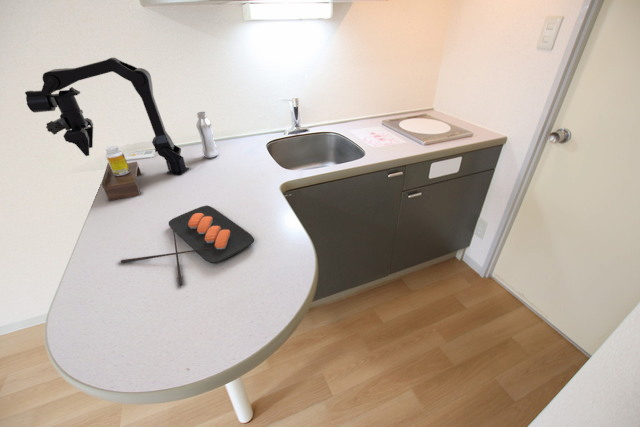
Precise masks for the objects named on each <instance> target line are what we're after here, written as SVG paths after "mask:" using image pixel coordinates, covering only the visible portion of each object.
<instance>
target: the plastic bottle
mask: <svg viewBox="0 0 640 427" xmlns="http://www.w3.org/2000/svg"><path fill="white" fill-rule="evenodd" d="M196 116H197V121H196V129H197V131H198V132H197V133H198V134H199V138H200V140H201V146H202V153H203V156H204V157H205V158H215V157H217V156H218V154H219V150H218V147H217V145H216V142H215V139H214V133H213V124H212V122H211V121H210V120H209V119H208V118H207V117H208V115H207V112H206V111H198V112H196Z"/></svg>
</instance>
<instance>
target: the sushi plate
mask: <svg viewBox="0 0 640 427" xmlns="http://www.w3.org/2000/svg"><path fill="white" fill-rule="evenodd" d="M168 226H169V227H170V229H171V230H172V232H173V240H174V248H175V252H171V253H163V254H156V255H155V254H154V255H148V256H147V255H146V256H140V257H134V258H127V259H126V258H125V259H121V260H120V263H121V264H124V263H130V262H131V263H132V262H137V261H145V260H149V259H155V258H161V257H169V256H174V255H175V259H176V268H177V278H178V284H179V286H183V280H182V272H181V266H180V260H179V255H180V254H187V253H193V252H196V254H197V255H199V256H200V257H201V258H202V259H203V260H204V261H206V262H208V263H210V264H218V263H220V262H223V261H225V260H227V259H229V258H230V257H232V256H234V255H236V254H238V253H239V252H242V251H243V250H245V249H247V248H249V247H250V246H252V245H253V243H254V242H255V237H254V236H253V235H252V234H251V233H249V232H248V231H247V230H245V229H244V228H242V226H240V225H239V224H237V223H235V222H234V221H233V220H231V218H229V217H227V216H226V215H224V214H223V213H222V212H220V211H219V210H217V208H215V207H212V206H211V205H203V206H199V207H196V208H194V209H192V210H189V211H187V212H185V213H182V214H180V215H178V216H175V217H173V218H172V219H170V220H169V221H168ZM176 235H178V236H179V237H180V238H181V239H182V240H183V241H184V243H186V244H187V245H188V246H189V247H190V248H191V250H185V251H178V246H177V238H176Z"/></svg>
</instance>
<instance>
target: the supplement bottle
mask: <svg viewBox="0 0 640 427" xmlns="http://www.w3.org/2000/svg"><path fill="white" fill-rule="evenodd" d="M105 151H106V154H105V158H106V160H107V164H108V163H109V165H110V167H111V169H112V172H113V174H114V175H115V176H123V175H126V174H128V173H129V172H130V169H129V167H128V164H127V163H128V162H127V160H126V157H125V154H124V152H123V151H122V150H120V148H119V146H118V145H111V146H107V147H106V148H105Z"/></svg>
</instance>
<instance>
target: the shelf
mask: <svg viewBox="0 0 640 427" xmlns="http://www.w3.org/2000/svg"><path fill="white" fill-rule="evenodd" d="M127 164H128V167H129V169H130V172H129V173H128V174H126V175H123V176H115V175H114V174H113V172H112V169H111V167H110V165H109V163H108V162H107V164H106V168H105V171H104V174H103V177H102V181H101V186H102V188H103V190H104V192H105V195H106V197H107V199H108V201H109V202H111V201H116V200H120V199H125V198H131V197H136V196H140V195H141V191H140V189H139V186H138V183H137V180H138V177H139V176H142V175H143V174H142V171H141V168H140V166H139V162H138V161H133V162H127Z"/></svg>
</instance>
